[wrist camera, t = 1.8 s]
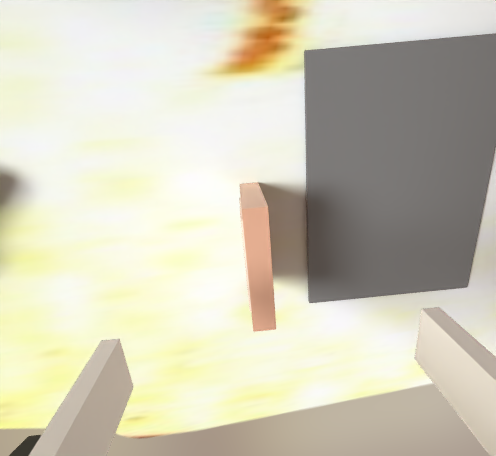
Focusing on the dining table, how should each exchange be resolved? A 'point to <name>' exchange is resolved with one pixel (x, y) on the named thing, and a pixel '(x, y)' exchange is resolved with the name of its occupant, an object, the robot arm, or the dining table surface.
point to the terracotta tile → (257, 256)
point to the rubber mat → (397, 164)
